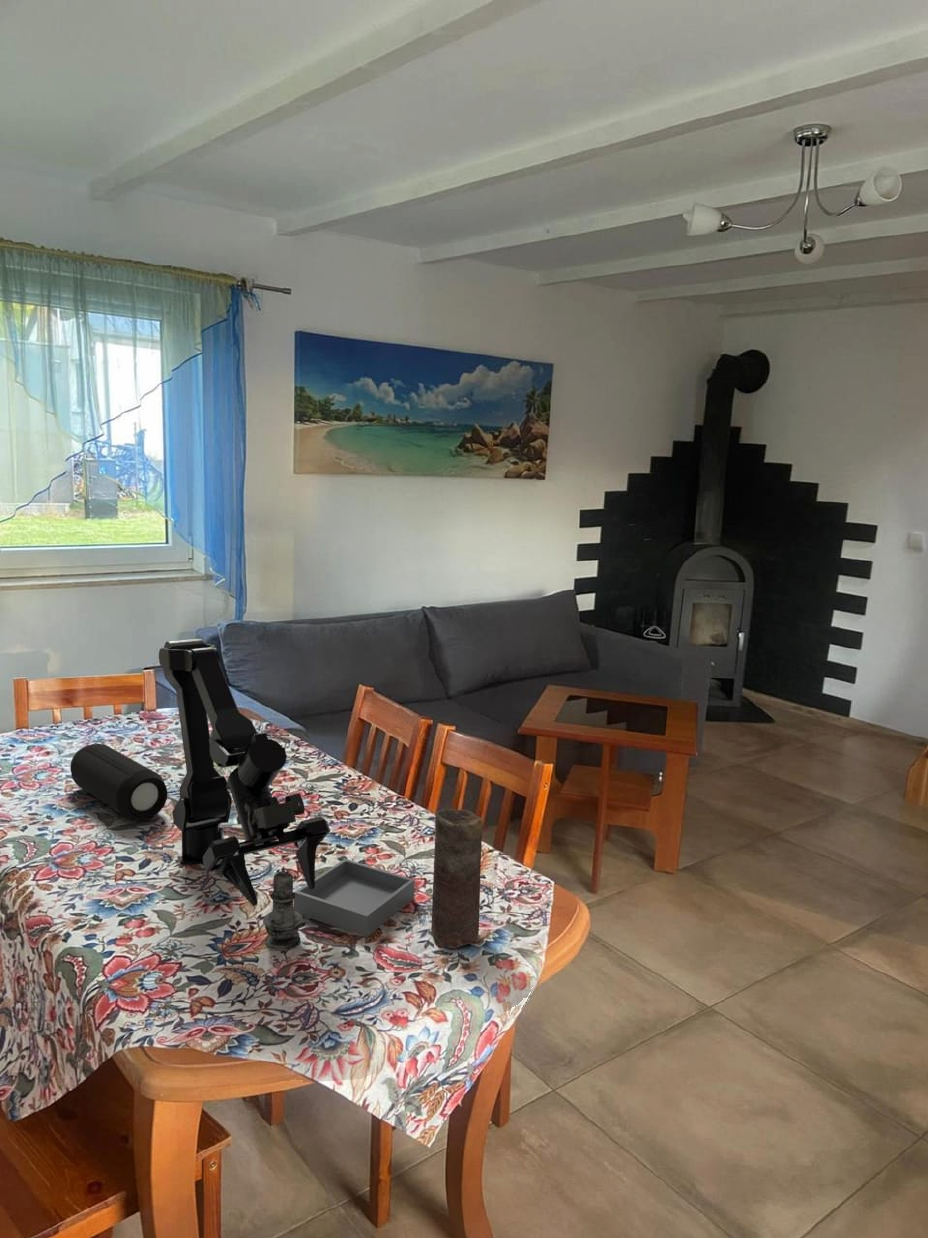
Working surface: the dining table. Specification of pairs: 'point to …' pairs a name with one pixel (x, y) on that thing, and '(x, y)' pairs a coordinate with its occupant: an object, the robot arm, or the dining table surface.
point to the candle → (456, 878)
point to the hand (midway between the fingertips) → (284, 896)
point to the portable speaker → (119, 781)
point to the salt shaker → (282, 915)
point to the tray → (355, 897)
